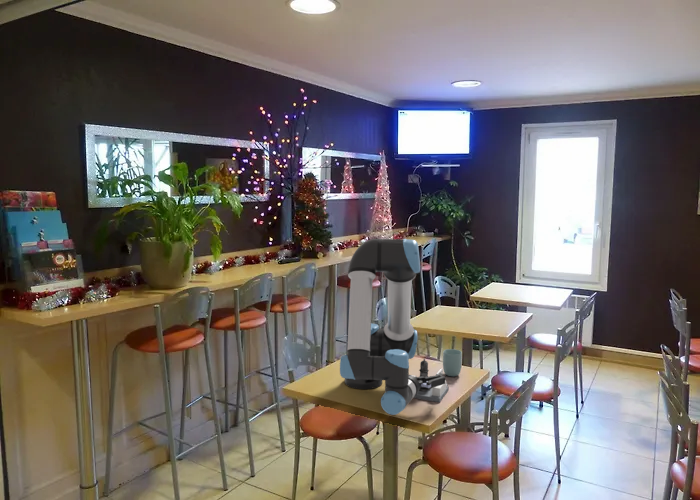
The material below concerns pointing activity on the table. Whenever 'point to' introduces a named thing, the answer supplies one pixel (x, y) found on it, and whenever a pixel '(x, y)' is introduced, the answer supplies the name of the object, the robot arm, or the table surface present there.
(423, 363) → the salt shaker
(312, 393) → the table surface
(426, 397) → the rail board
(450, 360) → the cup
